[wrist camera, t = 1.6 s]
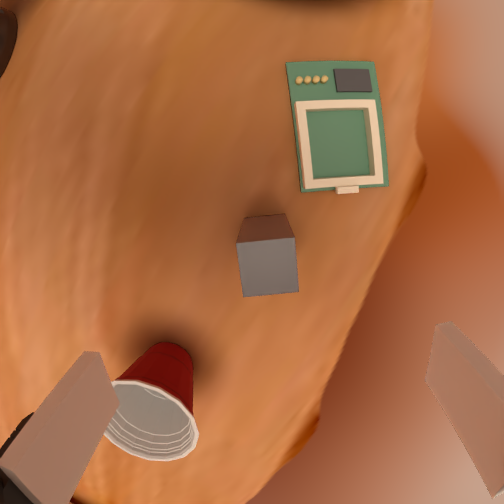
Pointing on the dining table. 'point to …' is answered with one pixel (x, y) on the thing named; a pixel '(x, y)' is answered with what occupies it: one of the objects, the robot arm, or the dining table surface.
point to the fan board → (337, 125)
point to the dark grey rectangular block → (267, 256)
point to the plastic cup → (155, 405)
